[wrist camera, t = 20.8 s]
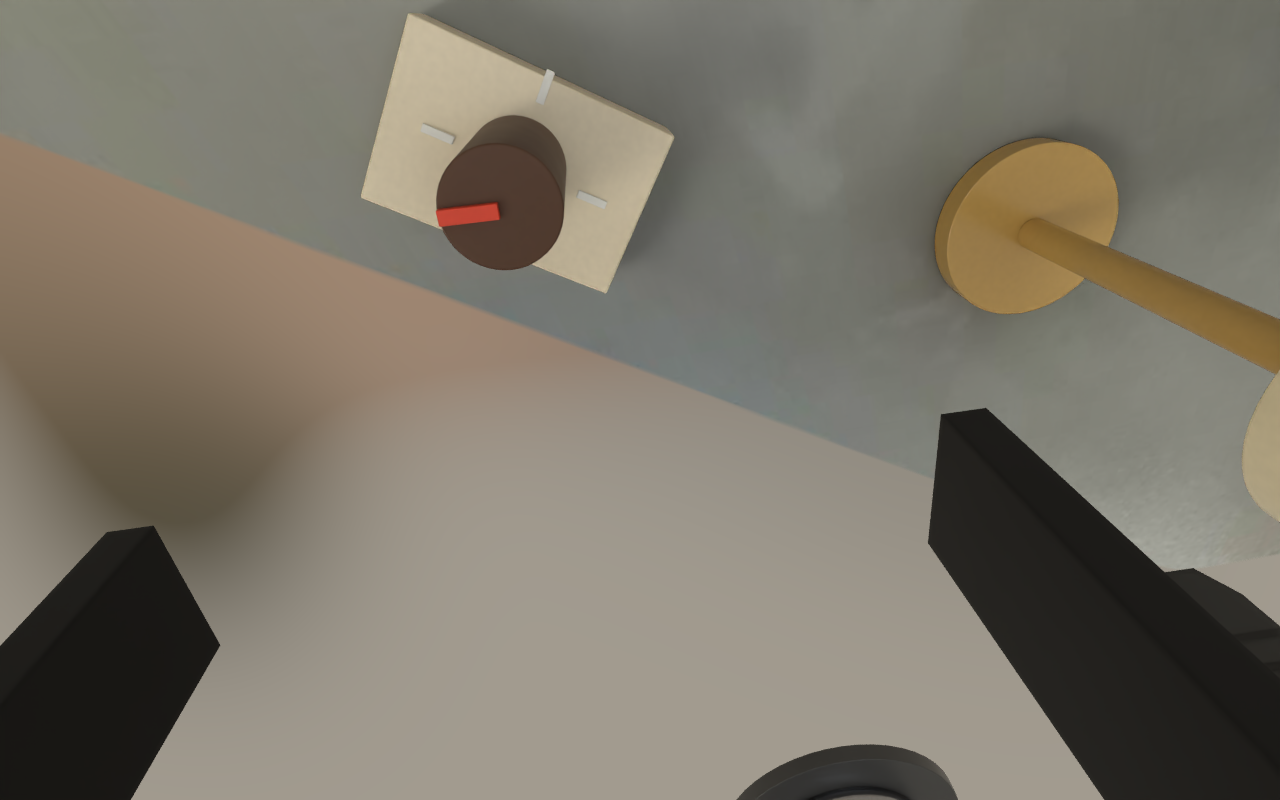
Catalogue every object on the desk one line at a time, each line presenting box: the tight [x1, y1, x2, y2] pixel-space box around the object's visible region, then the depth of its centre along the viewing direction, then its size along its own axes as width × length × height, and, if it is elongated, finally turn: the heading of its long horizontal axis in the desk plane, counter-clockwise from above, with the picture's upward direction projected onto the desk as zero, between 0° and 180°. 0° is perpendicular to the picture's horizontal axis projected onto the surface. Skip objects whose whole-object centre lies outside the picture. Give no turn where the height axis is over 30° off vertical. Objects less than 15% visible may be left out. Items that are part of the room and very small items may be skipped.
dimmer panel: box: [361, 13, 674, 293], centre depth 33 cm, size 9×12×3 cm
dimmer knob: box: [436, 115, 566, 270], centre depth 28 cm, size 4×4×8 cm
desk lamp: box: [935, 138, 1280, 522], centre depth 26 cm, size 9×9×26 cm
